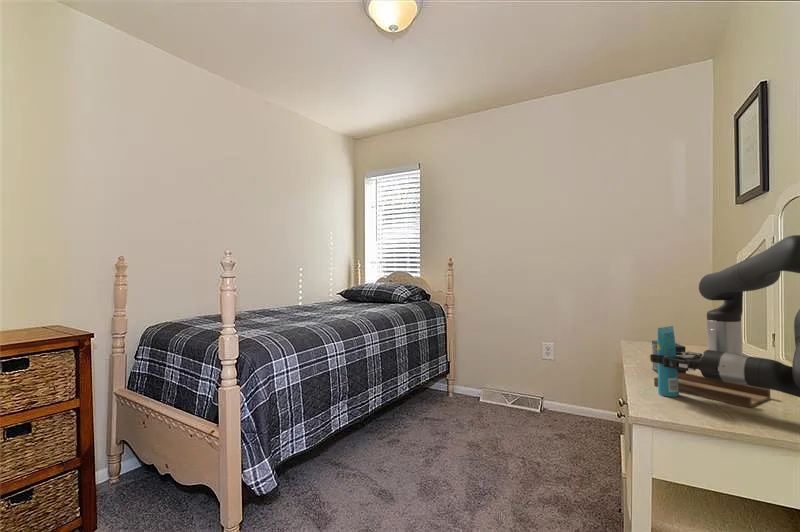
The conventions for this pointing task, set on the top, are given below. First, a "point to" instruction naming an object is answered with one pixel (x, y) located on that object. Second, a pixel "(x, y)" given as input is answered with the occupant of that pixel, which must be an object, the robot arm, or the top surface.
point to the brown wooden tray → (720, 390)
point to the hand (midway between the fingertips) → (658, 356)
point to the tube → (665, 374)
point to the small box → (655, 351)
